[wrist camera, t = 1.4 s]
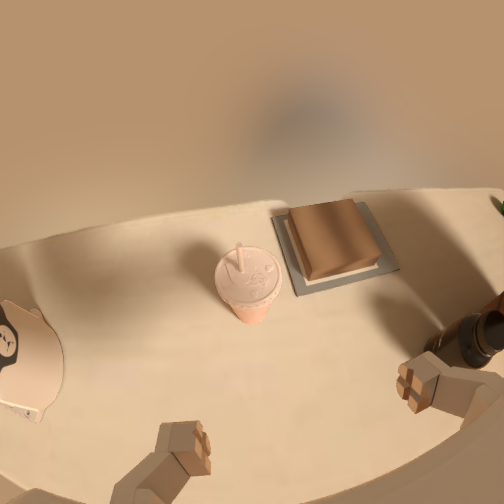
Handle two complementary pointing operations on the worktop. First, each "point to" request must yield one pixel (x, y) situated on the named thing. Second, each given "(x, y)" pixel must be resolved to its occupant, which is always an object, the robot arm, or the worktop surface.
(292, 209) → the base block
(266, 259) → the smoothie
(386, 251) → the mat
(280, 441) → the worktop surface
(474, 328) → the supplement bottle
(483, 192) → the worktop surface
